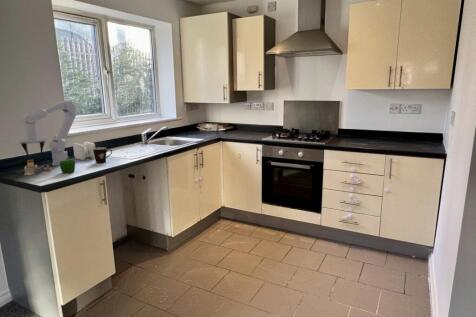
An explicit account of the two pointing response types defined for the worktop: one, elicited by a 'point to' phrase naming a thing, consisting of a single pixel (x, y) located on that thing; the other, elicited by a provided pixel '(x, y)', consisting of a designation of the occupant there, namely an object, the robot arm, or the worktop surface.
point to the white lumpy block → (83, 150)
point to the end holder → (30, 169)
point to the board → (39, 173)
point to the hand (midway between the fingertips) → (34, 154)
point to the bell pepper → (67, 166)
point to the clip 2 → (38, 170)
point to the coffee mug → (100, 154)
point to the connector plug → (30, 163)
